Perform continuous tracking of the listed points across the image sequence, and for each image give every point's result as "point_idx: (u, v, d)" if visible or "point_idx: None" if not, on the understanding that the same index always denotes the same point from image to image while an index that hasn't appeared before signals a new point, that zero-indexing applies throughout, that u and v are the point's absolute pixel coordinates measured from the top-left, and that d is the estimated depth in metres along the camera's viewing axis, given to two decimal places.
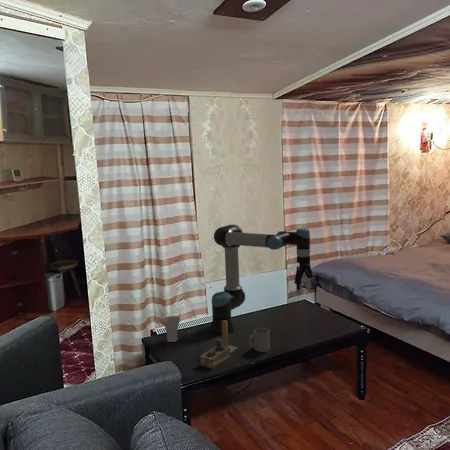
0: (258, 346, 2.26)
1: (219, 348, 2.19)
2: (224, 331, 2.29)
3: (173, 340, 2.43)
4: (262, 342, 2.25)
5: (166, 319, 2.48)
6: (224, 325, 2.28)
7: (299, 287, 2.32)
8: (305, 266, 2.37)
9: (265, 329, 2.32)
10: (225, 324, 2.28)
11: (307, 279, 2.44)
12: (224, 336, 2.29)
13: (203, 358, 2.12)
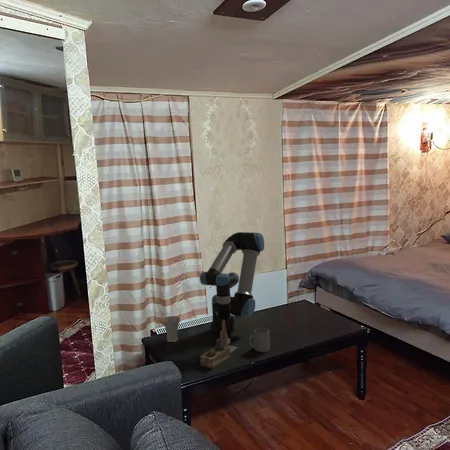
0: (258, 346, 2.26)
1: (219, 348, 2.19)
2: (224, 331, 2.29)
3: (173, 340, 2.43)
4: (262, 342, 2.25)
5: (166, 319, 2.48)
6: (224, 325, 2.28)
7: (220, 334, 2.31)
8: (223, 313, 2.28)
9: (265, 329, 2.32)
10: (225, 324, 2.28)
11: None
12: (224, 336, 2.29)
13: (203, 358, 2.12)
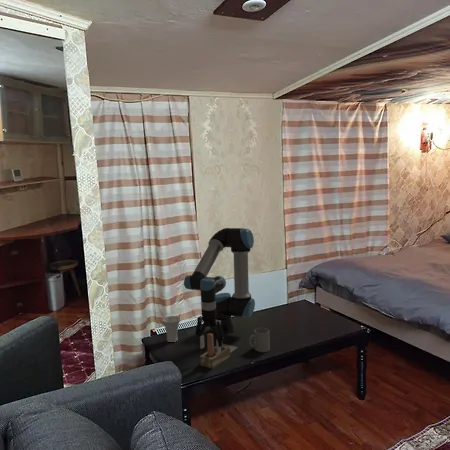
0: (258, 346, 2.26)
1: None
2: (209, 345, 2.12)
3: (173, 340, 2.43)
4: (262, 342, 2.25)
5: (166, 319, 2.48)
6: (209, 338, 2.12)
7: (199, 339, 2.16)
8: (208, 321, 2.11)
9: (265, 329, 2.32)
10: (211, 338, 2.12)
11: None
12: (209, 350, 2.13)
13: (203, 358, 2.12)
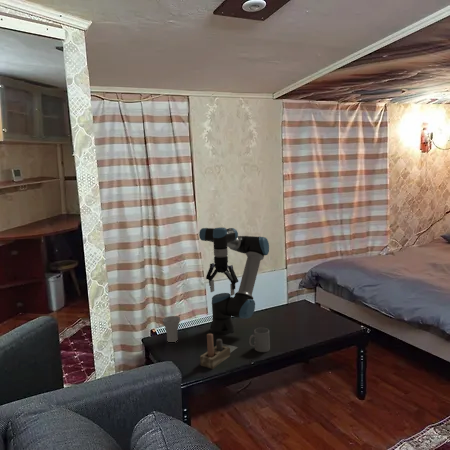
0: (258, 346, 2.26)
1: (219, 348, 2.19)
2: (209, 345, 2.12)
3: (173, 340, 2.43)
4: (262, 342, 2.25)
5: (166, 319, 2.48)
6: (209, 338, 2.12)
7: (209, 283, 2.33)
8: (220, 267, 2.27)
9: (265, 329, 2.32)
10: (210, 338, 2.12)
11: None
12: (209, 350, 2.13)
13: (203, 358, 2.12)
